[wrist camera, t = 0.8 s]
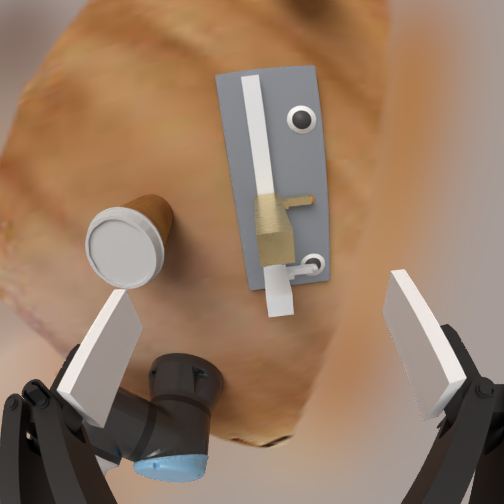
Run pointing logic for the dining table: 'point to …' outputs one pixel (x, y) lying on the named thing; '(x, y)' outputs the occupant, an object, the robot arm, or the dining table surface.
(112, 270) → the disposable coffee cup
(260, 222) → the gold pointer slider
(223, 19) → the dining table surface
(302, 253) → the gauge plate
